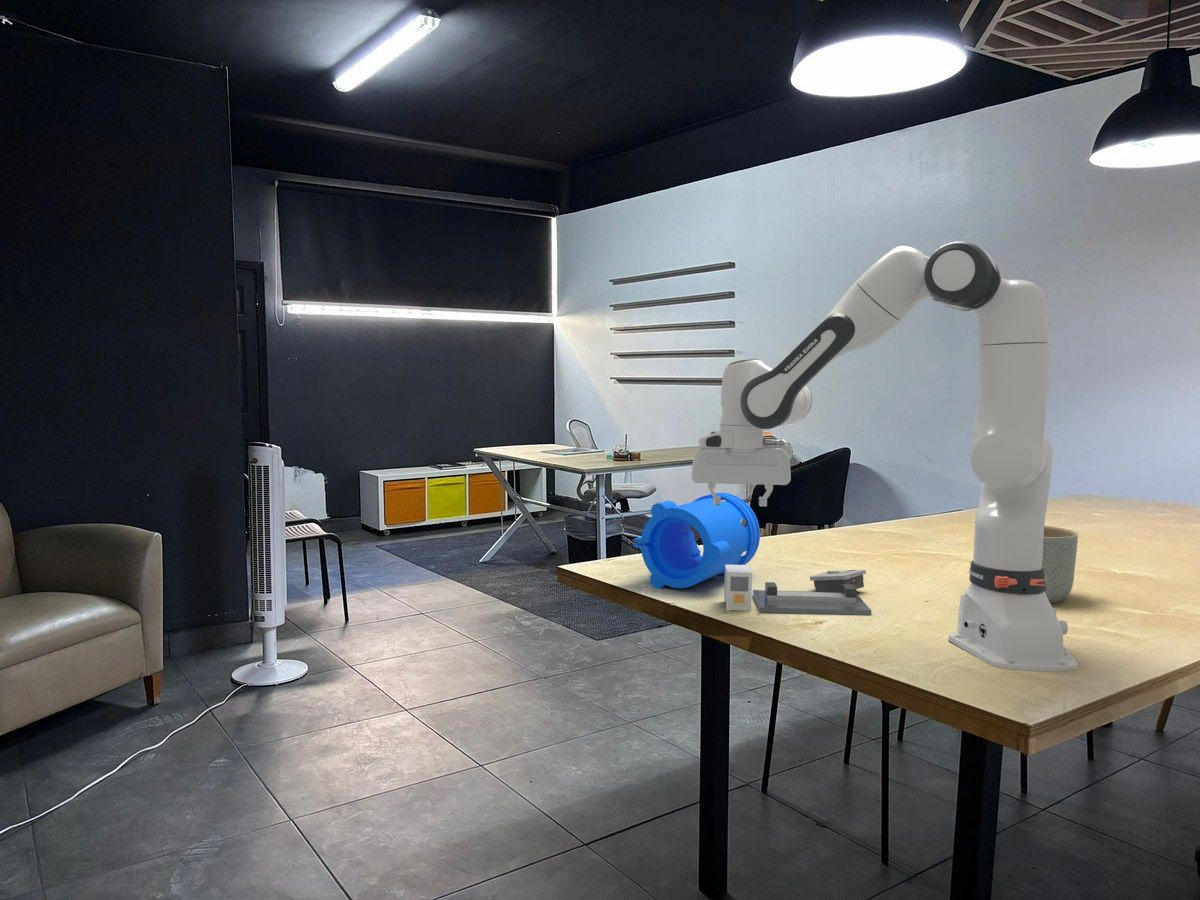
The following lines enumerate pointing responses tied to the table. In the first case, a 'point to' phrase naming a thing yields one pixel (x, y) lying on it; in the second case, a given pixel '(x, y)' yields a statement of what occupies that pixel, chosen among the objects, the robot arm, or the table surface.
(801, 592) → the din board
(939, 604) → the table surface
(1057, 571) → the planter
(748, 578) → the din module
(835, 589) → the electrical switch
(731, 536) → the tube
